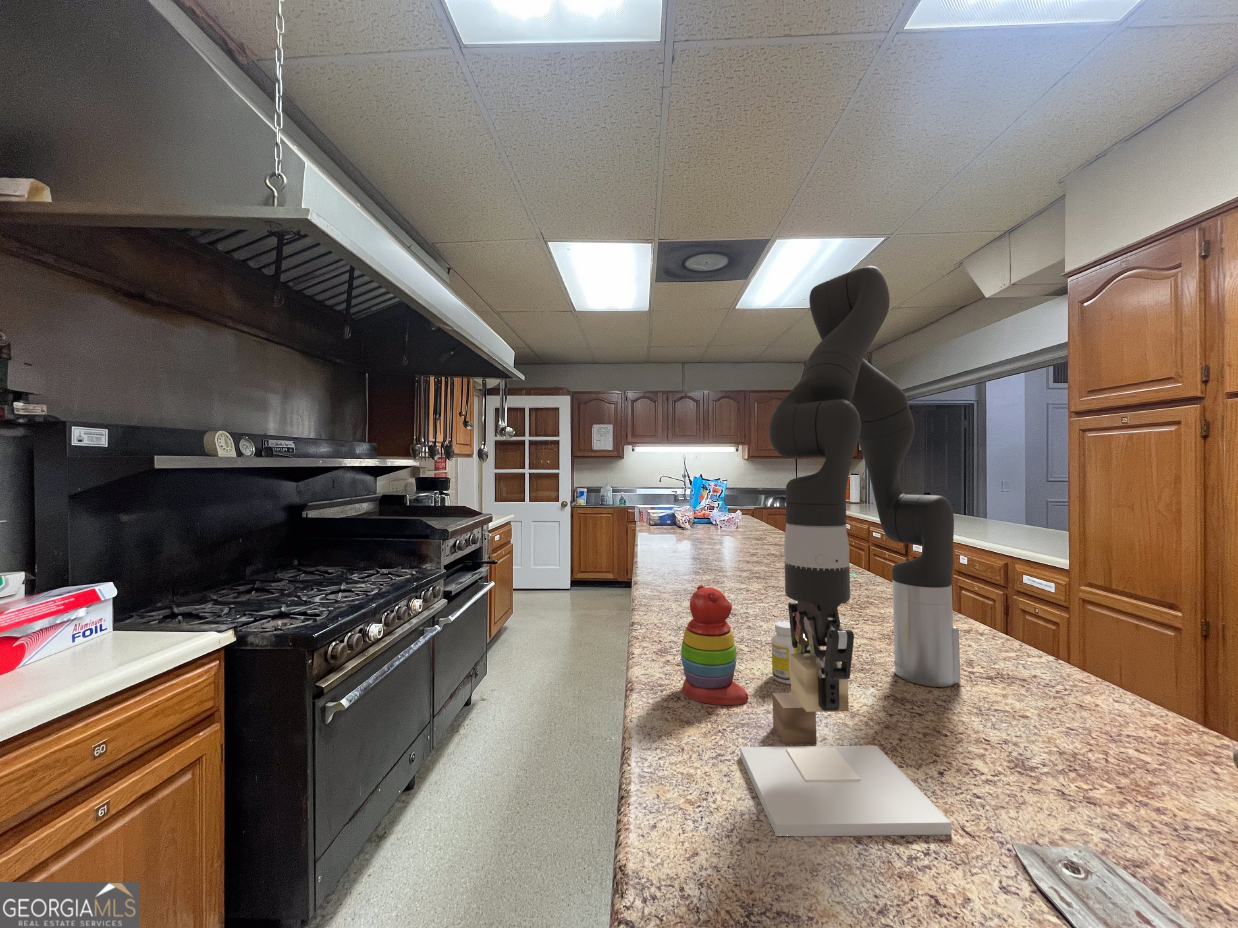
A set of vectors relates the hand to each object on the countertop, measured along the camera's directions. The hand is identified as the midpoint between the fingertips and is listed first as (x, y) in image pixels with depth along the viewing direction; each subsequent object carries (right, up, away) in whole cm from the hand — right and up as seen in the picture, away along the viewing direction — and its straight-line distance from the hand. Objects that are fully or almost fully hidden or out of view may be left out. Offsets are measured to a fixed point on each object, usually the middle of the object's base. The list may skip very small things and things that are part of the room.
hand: (818, 697), depth 59 cm
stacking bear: (-9, -10, +23) cm, 26 cm away
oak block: (0, 0, 0) cm, 0 cm away
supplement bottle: (+6, -10, +28) cm, 30 cm away
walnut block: (0, -10, +9) cm, 13 cm away
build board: (0, -9, -3) cm, 10 cm away
